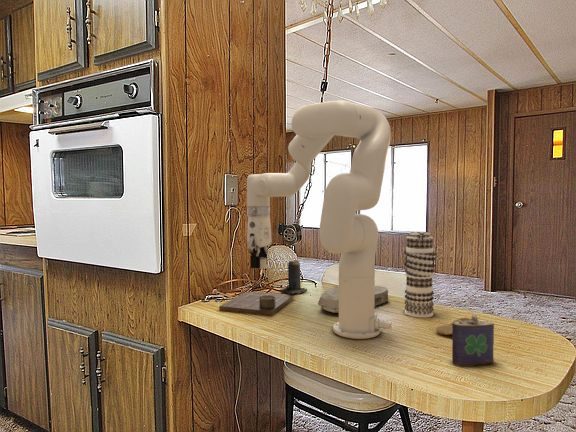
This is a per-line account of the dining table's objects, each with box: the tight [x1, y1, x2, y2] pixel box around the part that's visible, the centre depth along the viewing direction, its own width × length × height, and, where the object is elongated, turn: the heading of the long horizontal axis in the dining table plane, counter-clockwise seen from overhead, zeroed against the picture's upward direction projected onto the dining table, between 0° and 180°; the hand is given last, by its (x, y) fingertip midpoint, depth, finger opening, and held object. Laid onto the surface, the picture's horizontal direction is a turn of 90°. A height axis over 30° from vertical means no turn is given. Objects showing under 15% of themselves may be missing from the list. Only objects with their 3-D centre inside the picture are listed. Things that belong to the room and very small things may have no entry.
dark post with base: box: [279, 259, 308, 296], centre depth 154 cm, size 9×8×12 cm
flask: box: [451, 314, 495, 367], centre depth 90 cm, size 9×3×11 cm, turn 95°
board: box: [218, 291, 294, 317], centre depth 138 cm, size 18×20×2 cm
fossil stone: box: [317, 285, 389, 314], centre depth 136 cm, size 28×15×5 cm, turn 131°
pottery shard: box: [435, 317, 471, 336], centre depth 109 cm, size 11×4×10 cm
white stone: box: [254, 257, 268, 270], centre depth 137 cm, size 5×5×3 cm
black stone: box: [259, 295, 275, 309], centre depth 130 cm, size 5×5×3 cm
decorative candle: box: [403, 231, 437, 319], centre depth 126 cm, size 9×9×25 cm
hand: (259, 265), depth 137 cm, fingers closed on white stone, 5 cm apart
